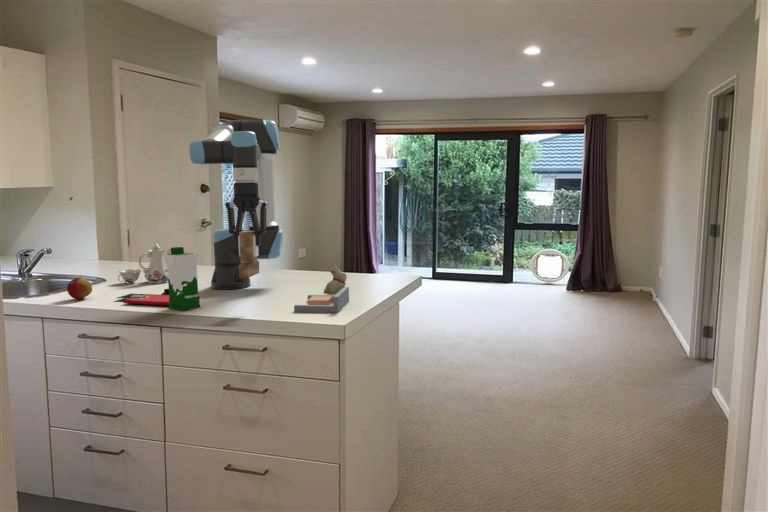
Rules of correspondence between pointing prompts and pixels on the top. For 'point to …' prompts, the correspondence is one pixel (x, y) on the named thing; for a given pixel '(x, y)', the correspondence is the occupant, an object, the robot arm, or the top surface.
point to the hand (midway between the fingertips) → (248, 255)
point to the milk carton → (182, 279)
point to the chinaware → (149, 268)
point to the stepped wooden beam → (247, 255)
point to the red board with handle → (148, 298)
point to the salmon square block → (320, 300)
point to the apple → (79, 288)
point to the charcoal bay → (338, 304)
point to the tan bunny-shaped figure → (336, 281)
